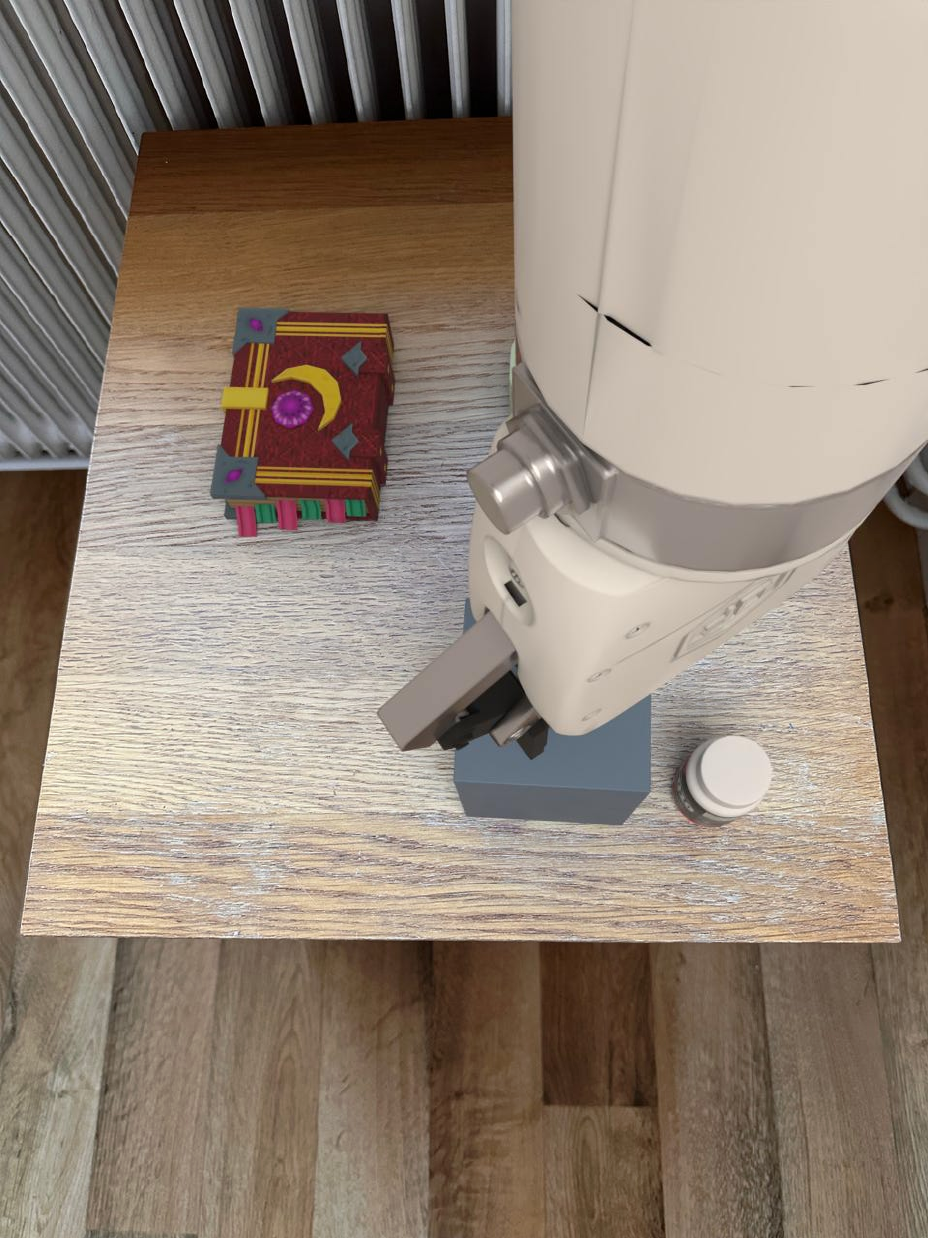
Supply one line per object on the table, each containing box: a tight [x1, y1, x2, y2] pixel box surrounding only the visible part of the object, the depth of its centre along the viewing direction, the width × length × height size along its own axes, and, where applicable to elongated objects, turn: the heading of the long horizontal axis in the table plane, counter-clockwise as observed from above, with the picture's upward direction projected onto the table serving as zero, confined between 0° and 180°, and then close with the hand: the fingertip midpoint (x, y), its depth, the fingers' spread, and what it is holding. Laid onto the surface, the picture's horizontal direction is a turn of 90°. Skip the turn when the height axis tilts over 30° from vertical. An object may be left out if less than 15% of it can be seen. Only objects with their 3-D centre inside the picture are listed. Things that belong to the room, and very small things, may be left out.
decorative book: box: [209, 306, 396, 538], centre depth 70 cm, size 11×16×5 cm
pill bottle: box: [671, 734, 773, 829], centre depth 59 cm, size 5×5×8 cm
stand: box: [452, 597, 652, 826], centre depth 58 cm, size 10×10×14 cm
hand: (625, 641), depth 34 cm, fingers open, 9 cm apart
